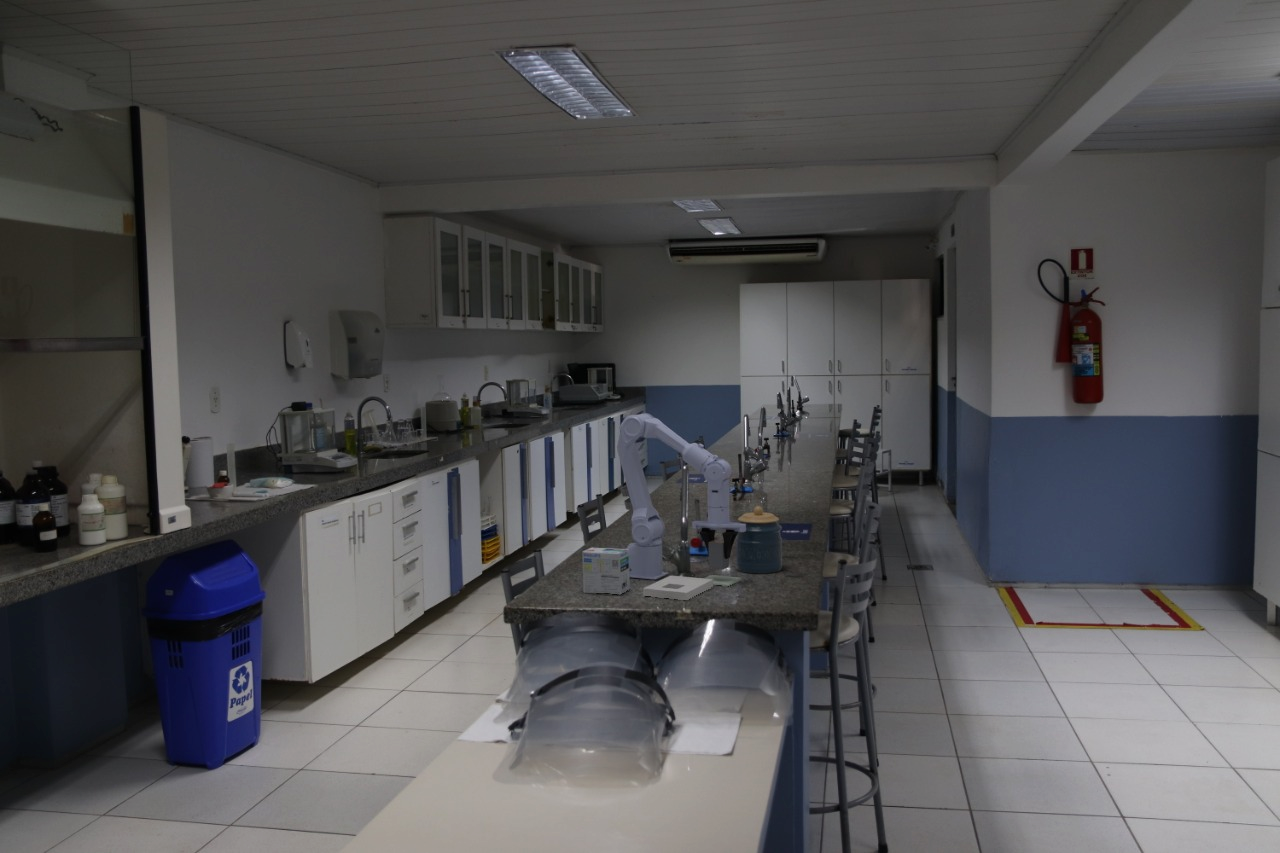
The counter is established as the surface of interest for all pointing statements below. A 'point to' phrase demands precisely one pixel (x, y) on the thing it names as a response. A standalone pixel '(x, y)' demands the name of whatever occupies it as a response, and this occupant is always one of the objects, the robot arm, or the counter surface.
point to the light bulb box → (606, 570)
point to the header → (678, 587)
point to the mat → (723, 580)
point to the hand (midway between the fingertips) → (719, 557)
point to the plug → (717, 555)
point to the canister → (759, 543)
